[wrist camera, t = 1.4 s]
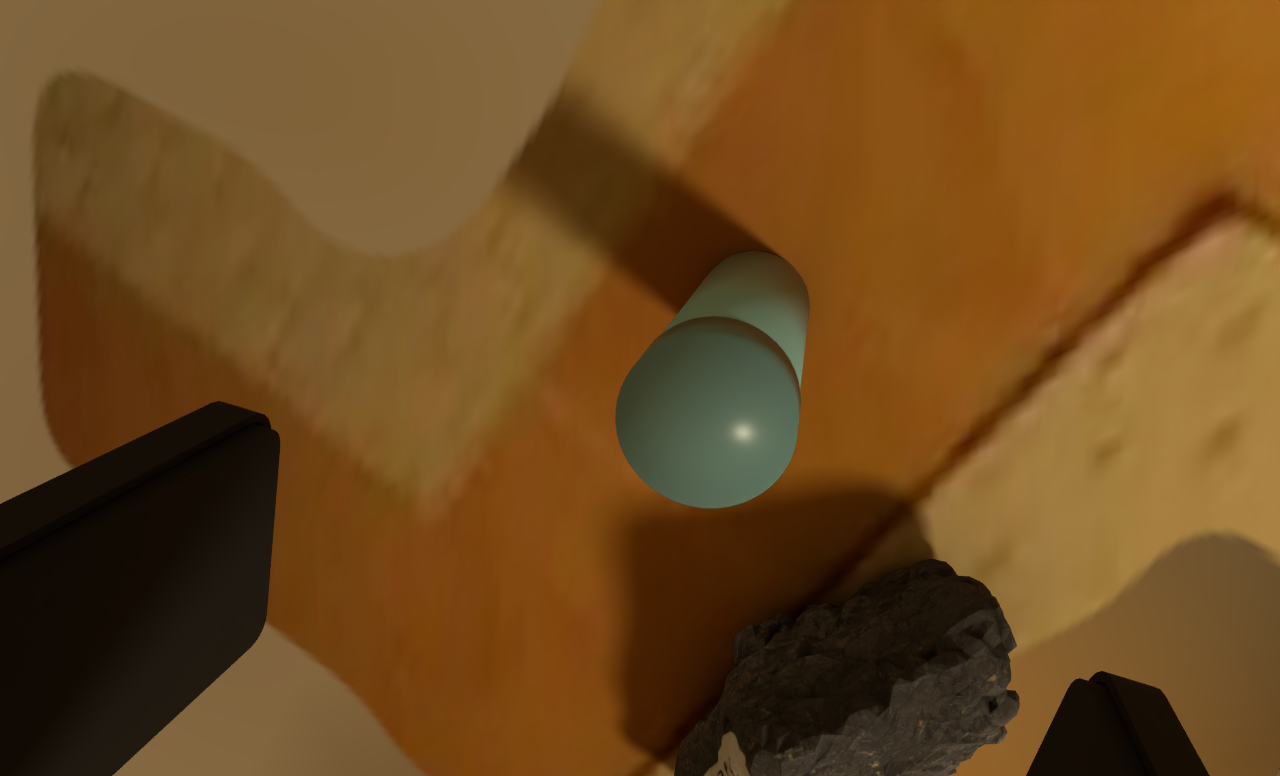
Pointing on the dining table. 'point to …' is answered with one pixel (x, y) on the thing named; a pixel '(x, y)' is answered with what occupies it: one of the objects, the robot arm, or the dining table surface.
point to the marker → (720, 387)
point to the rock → (864, 685)
